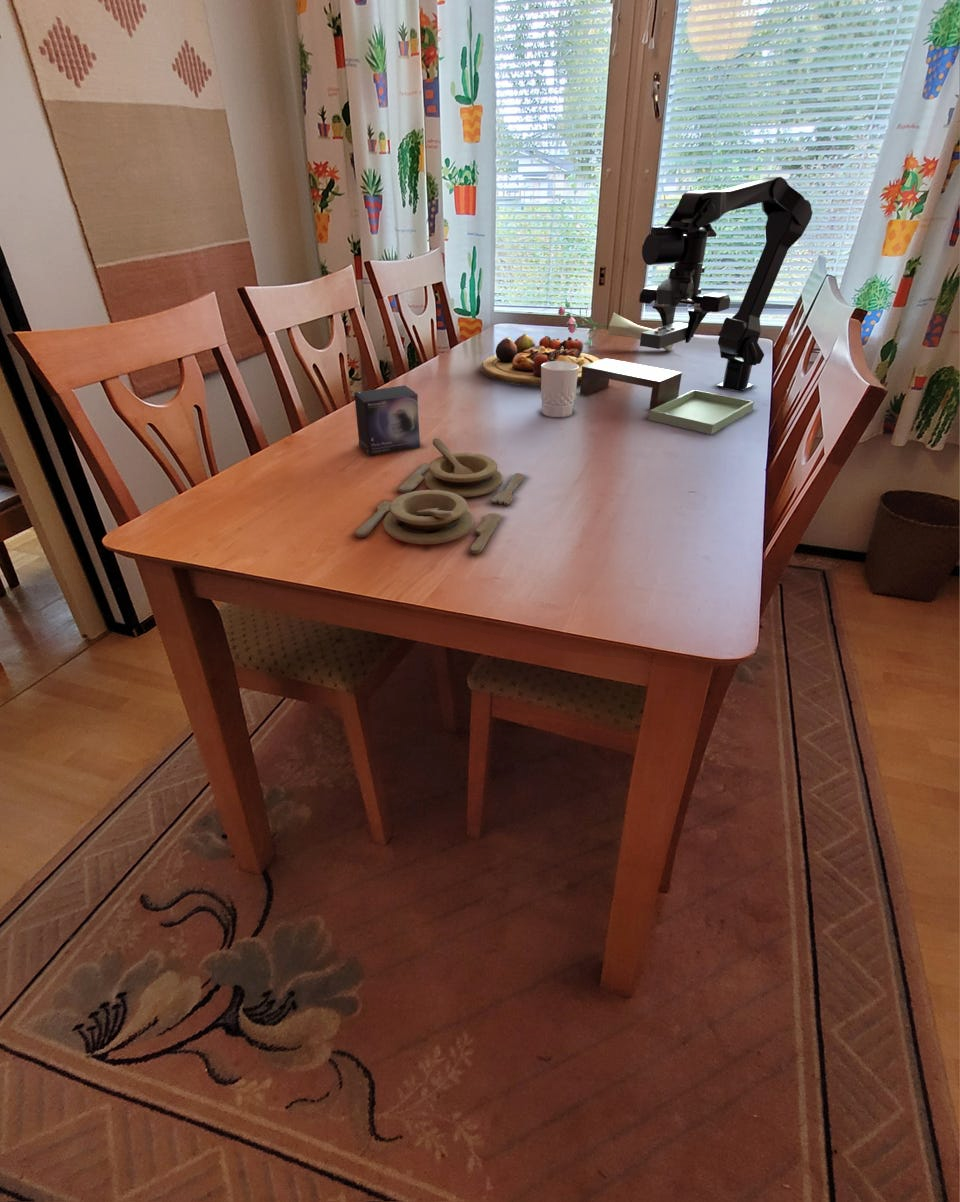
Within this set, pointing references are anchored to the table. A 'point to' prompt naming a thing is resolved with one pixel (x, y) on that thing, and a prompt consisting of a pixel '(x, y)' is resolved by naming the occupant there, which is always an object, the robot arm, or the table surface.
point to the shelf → (631, 379)
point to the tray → (701, 411)
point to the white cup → (558, 388)
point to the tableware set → (443, 500)
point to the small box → (387, 419)
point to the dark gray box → (664, 335)
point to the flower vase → (616, 326)
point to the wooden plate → (532, 359)
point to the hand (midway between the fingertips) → (676, 341)
